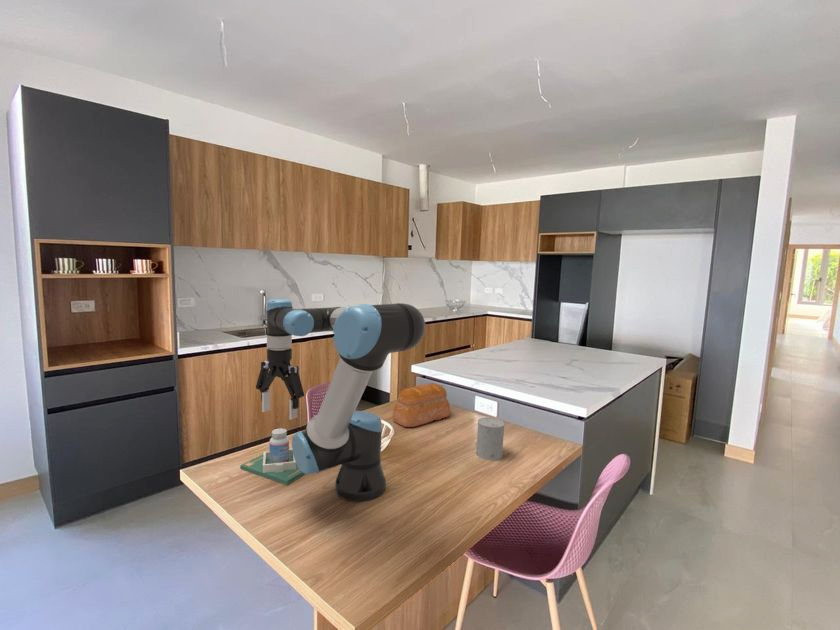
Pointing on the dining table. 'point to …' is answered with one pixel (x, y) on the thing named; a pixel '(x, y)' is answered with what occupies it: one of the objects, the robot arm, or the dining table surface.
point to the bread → (421, 405)
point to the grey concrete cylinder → (490, 438)
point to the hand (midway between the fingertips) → (279, 414)
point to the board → (275, 475)
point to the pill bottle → (279, 446)
